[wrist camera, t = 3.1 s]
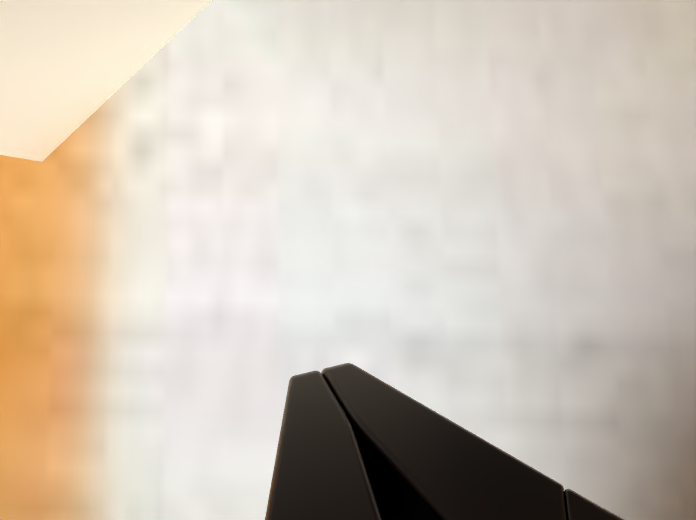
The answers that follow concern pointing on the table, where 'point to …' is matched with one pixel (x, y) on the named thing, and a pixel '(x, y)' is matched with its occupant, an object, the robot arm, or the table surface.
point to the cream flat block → (73, 62)
